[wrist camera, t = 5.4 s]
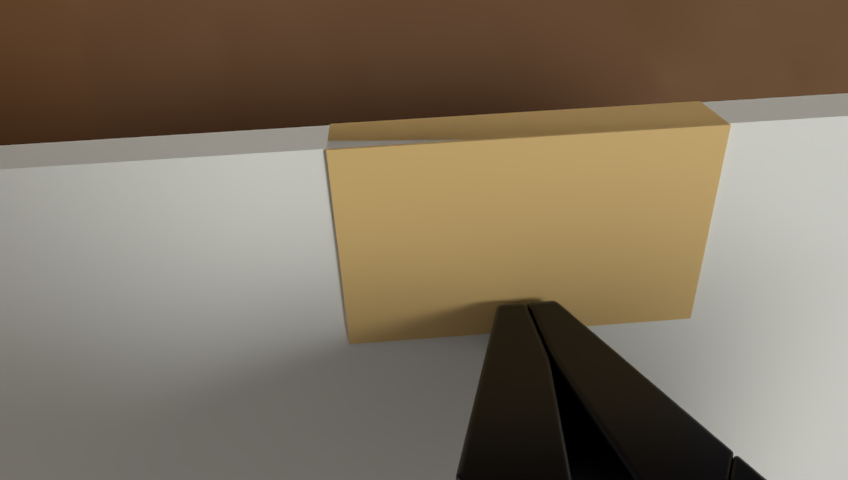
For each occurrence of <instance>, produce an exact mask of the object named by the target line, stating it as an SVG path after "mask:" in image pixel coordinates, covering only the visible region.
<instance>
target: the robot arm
mask: <svg viewBox="0 0 848 480" xmlns="http://www.w3.org/2000/svg"><path fill="white" fill-rule="evenodd" d="M733 456H734V453H733V451H732V450H731V449H730V448H728V447H727V446H726V445H725V444H724V443H723V442H721V441H720V440H719V439H718V438H717V437H716V436H714V435H713V434H712V433H711V432H710V431H708V430H707V429H706V428H705V427H704V426H703V425H701V424H700V423H699V422H698V421H697V420H696V419H694V418H693V417H692V416H691V415H690V414H688V413H687V412H686V411H685V410H684V409H683V408H681V407H680V406H679V405H678V404H677V403H676V402H674V401H673V400H672V399H671V398H670V397H668V396H667V395H666V394H665V393H664V392H663V391H661V390H660V389H659V388H658V387H657V386H656V385H654V384H653V383H652V382H651V381H650V380H649V379H647V378H646V377H645V376H644V375H643V374H641V373H640V372H639V371H638V370H637V369H636V368H634V367H633V366H632V365H631V364H630V363H629V362H627V361H626V360H625V359H624V358H623V357H621V356H620V355H619V354H618V353H617V352H616V351H614V350H613V349H612V348H611V347H610V346H609V345H607V344H606V343H605V342H604V341H603V340H601V339H600V338H599V337H598V336H597V335H596V334H594V333H593V332H592V331H591V330H590V329H589V328H587V327H586V326H585V325H584V324H583V323H582V322H580V321H579V320H578V319H577V318H576V317H574V316H573V315H572V314H571V313H570V312H569V311H567V310H566V309H565V308H564V307H563V306H562V305H560V304H559V303H558V302H556V301H539V302H530V303H529V304H528V305H527V306H526V305H525V304H524V303H512V304H501V305H499V306H498V307H497V309H496V313H495V317H494V321H493V325H492V329H491V333H490V337H489V342H488V346H487V350H486V354H485V358H484V362H483V366H482V370H481V375H480V379H479V383H478V387H477V391H476V395H475V399H474V403H473V408H472V412H471V416H470V420H469V424H468V428H467V432H466V436H465V440H464V445H463V449H462V453H461V457H460V461H459V465H458V469H457V473H456V480H767V479H765V478H764V477H763V476H762V475H761V474H759V473H758V472H757V471H756V470H755V469H753V468H752V467H751V466H750V465H749V464H748V463H746V462H745V461H744V460H743V459H742V458H741V457H739V456H734V457H733Z"/></svg>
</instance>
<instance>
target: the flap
mask: <svg viewBox="0 0 848 480" xmlns="http://www.w3.org/2000/svg"><path fill="white" fill-rule="evenodd" d="M539 301H556V302H558V303H559V304H560V305H562V306H563V307H564V308H565V309H566V310H567V311H569V312H570V313H571V314H572V315H573V316H574V317H576V318H577V319H578V320H579V321H580V322H582V323H583V324H584V325H585V326H586V327H587V328H589V329H590V330H591V331H592V332H593V333H594V334H596V335H597V336H598V337H599V338H600V339H601V340H603V341H604V342H605V343H606V344H607V345H609V346H610V347H611V348H612V349H613V350H614V351H616V352H617V353H618V354H619V355H620V356H621V357H623V358H624V359H625V360H626V361H627V362H629V363H630V364H631V365H632V366H633V367H634V368H636V369H637V370H638V371H639V372H640V373H641V374H643V375H644V376H645V377H646V378H647V379H649V380H650V381H651V382H652V383H653V384H654V385H656V386H657V387H658V388H659V389H660V390H661V391H663V392H664V393H665V394H666V395H667V396H668V397H670V398H671V399H672V400H673V401H674V402H676V403H677V404H678V405H679V406H680V407H681V408H683V409H684V410H685V411H686V412H687V413H688V414H690V415H691V416H692V417H693V418H694V419H696V420H697V421H698V422H699V423H700V424H701V425H703V426H704V427H705V428H706V429H707V430H708V431H710V432H711V433H712V434H713V435H714V436H716V437H717V438H718V439H719V440H720V441H721V442H723V443H724V444H725V445H726V446H727V447H728V448H730V449H731V450H732V451H733V453H734V456H739V457H741V458H742V459H743V460H744V461H745V462H746V463H748V464H749V465H750V466H751V467H752V468H753V469H755V470H756V471H757V472H758V473H759V474H761V475H762V476H763V477H764V478H765V479H767V480H848V93H844V94H828V95H812V96H796V97H780V98H763V99H747V100H731V101H715V102H700V101H694V102H677V103H661V104H645V105H629V106H613V107H596V108H580V109H564V110H548V111H531V112H515V113H499V114H483V115H467V116H450V117H434V118H418V119H402V120H385V121H369V122H353V123H337V124H330V125H326V126H310V127H294V128H278V129H261V130H245V131H229V132H213V133H197V134H180V135H164V136H148V137H132V138H116V139H99V140H83V141H67V142H51V143H35V144H18V145H2V146H0V480H456V473H457V469H458V465H459V461H460V457H461V453H462V449H463V445H464V440H465V436H466V432H467V428H468V424H469V420H470V416H471V412H472V408H473V403H474V399H475V395H476V391H477V387H478V383H479V379H480V375H481V370H482V366H483V362H484V358H485V354H486V350H487V346H488V342H489V337H490V333H491V329H492V325H493V321H494V317H495V313H496V309H497V307H498V306H499V305H501V304H512V303H524V304H525V305H526V306H527V305H528V304H529V303H530V302H539ZM734 456H733V457H734Z"/></svg>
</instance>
